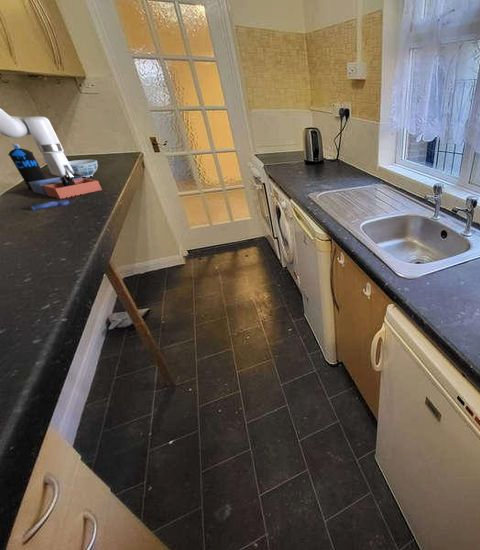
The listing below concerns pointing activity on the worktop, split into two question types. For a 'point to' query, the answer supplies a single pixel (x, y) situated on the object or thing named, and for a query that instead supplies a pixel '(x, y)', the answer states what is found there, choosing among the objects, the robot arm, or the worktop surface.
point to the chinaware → (84, 167)
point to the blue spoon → (49, 204)
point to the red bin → (72, 188)
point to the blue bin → (38, 185)
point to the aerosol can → (26, 165)
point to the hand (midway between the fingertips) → (72, 190)
